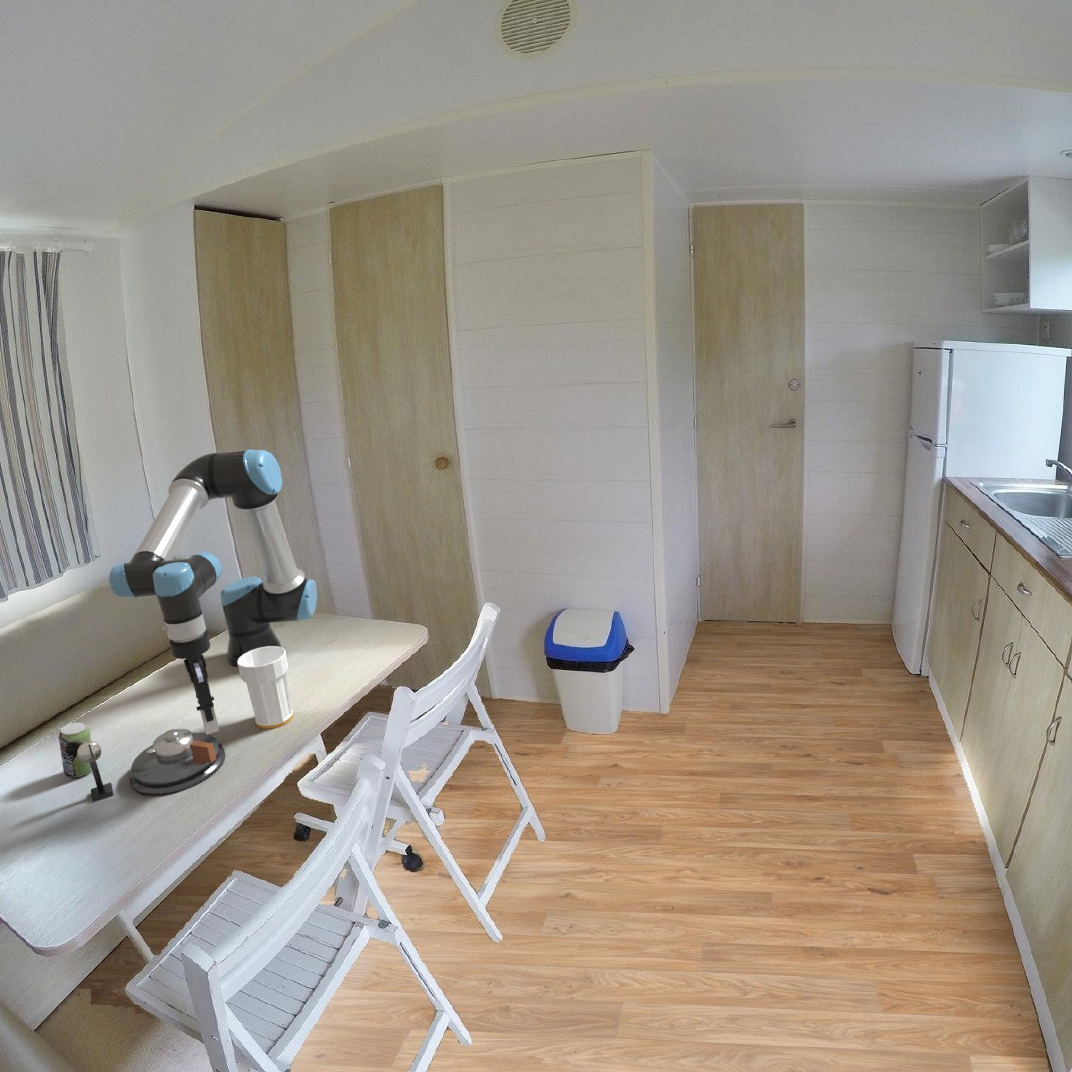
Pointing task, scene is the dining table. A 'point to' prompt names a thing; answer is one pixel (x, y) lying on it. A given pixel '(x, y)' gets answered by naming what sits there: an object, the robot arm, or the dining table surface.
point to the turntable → (176, 764)
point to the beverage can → (74, 748)
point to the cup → (267, 685)
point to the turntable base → (180, 786)
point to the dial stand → (94, 769)
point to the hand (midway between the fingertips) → (212, 730)
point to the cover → (173, 746)
